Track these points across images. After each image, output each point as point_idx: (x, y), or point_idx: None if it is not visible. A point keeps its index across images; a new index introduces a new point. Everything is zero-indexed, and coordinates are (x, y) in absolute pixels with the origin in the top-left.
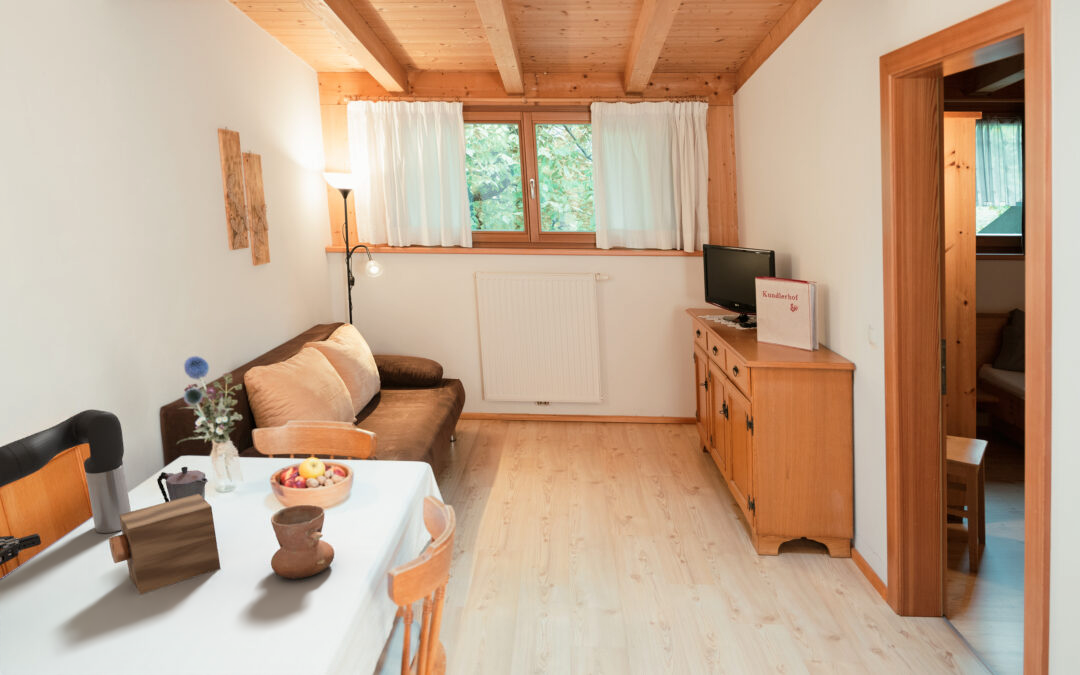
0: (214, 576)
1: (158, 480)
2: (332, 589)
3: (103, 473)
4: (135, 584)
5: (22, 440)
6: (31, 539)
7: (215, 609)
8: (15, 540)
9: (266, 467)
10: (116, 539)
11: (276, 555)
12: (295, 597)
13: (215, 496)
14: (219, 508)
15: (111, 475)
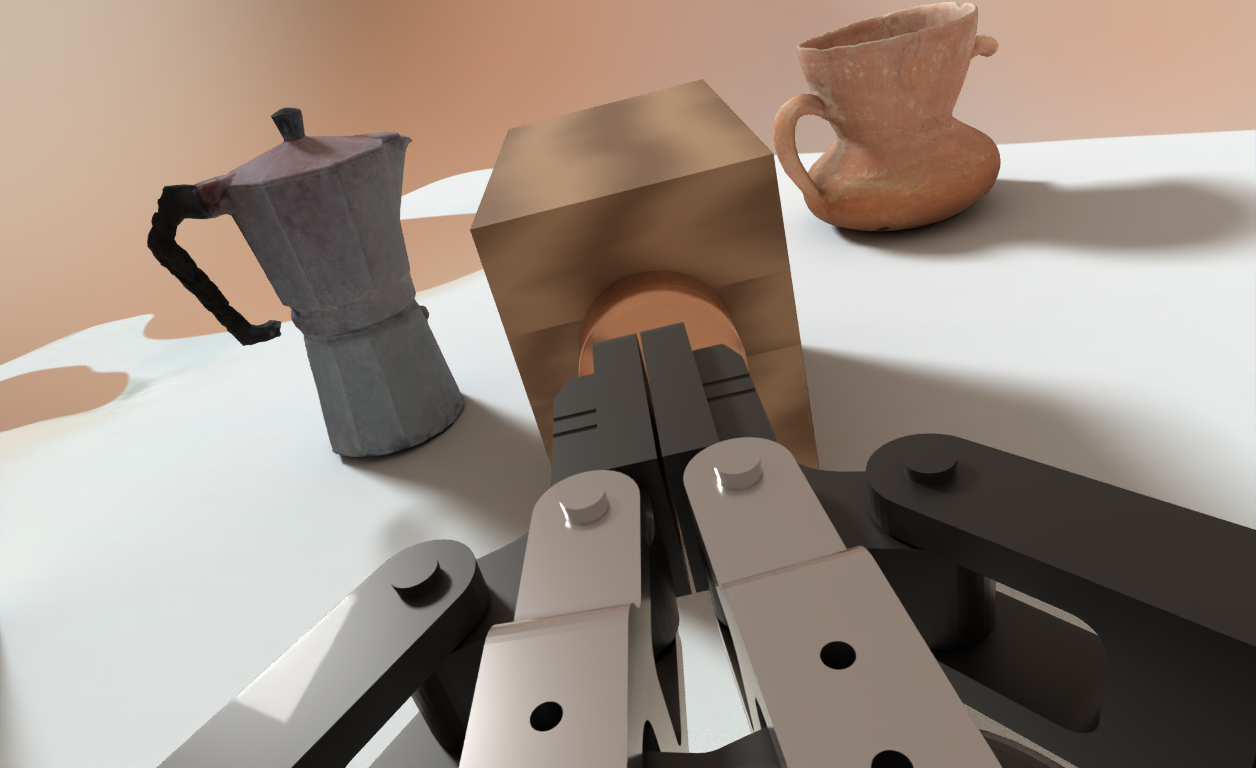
0: (806, 341)
1: (160, 239)
2: (1066, 165)
3: None
4: None
5: None
6: (713, 380)
7: (1113, 307)
8: (721, 461)
9: (99, 343)
10: (676, 290)
11: (907, 168)
12: (1090, 199)
13: (127, 410)
14: (239, 392)
15: None
